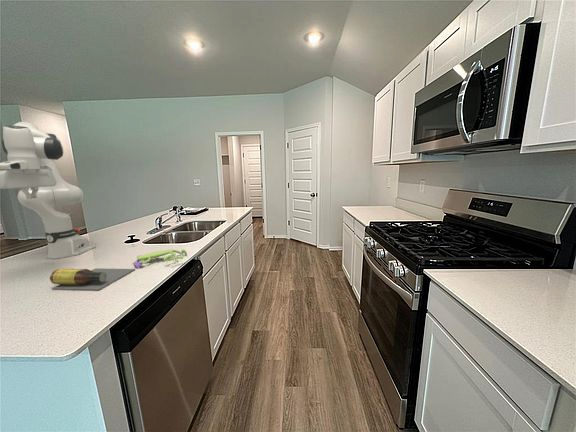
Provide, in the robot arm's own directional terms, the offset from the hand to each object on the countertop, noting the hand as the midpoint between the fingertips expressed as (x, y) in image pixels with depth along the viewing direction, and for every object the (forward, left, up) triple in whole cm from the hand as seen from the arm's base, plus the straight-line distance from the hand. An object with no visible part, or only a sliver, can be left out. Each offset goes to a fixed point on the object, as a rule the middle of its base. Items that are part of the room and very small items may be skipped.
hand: (31, 198), depth 104 cm
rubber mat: (+4, +28, -35) cm, 45 cm away
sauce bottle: (+10, +16, -31) cm, 36 cm away
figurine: (-18, +44, -36) cm, 59 cm away
